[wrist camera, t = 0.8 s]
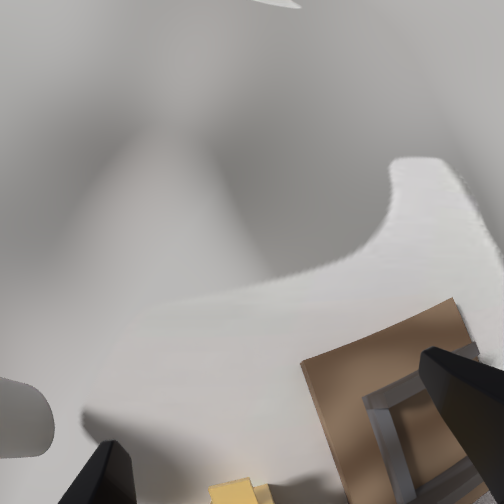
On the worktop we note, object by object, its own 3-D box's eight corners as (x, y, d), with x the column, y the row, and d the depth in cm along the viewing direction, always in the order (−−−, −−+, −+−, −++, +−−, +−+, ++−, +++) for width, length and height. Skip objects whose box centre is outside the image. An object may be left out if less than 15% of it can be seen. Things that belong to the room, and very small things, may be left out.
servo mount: (499, 471, 17) (538, 473, 12) (367, 556, 14) (393, 582, 10) (443, 303, 25) (478, 277, 20) (299, 363, 22) (314, 349, 18)
